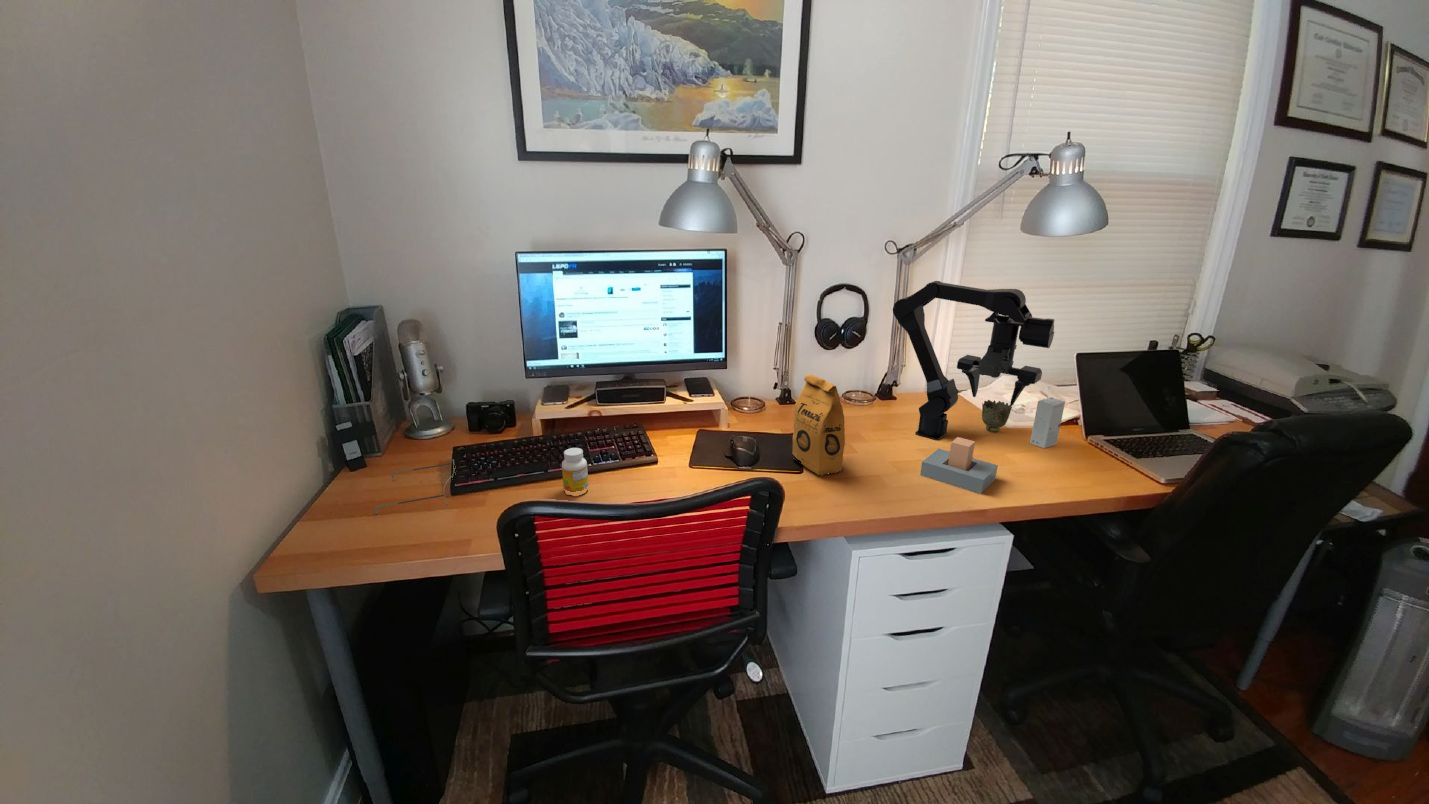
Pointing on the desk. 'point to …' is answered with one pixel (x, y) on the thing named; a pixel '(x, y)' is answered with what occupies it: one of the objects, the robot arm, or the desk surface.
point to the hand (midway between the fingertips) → (992, 401)
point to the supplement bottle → (574, 470)
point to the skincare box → (1047, 422)
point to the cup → (995, 415)
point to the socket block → (959, 472)
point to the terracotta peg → (961, 453)
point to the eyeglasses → (421, 498)
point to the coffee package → (819, 427)
